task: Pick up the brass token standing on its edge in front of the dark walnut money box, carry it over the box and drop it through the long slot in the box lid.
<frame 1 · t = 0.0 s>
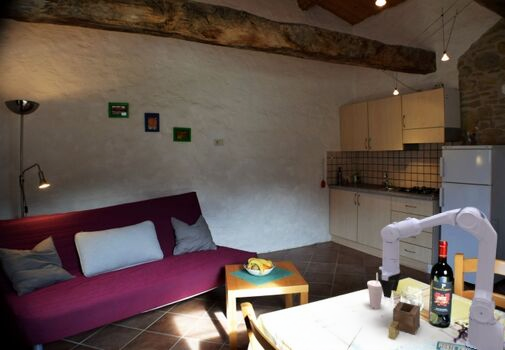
hand: (390, 293, 123), 10 cm above the table, tool pointing down, fingers open, 7 cm apart
smoothie: (375, 307, 135), on the table
money box: (406, 326, 119), on the table
brass token: (393, 335, 114), on the table
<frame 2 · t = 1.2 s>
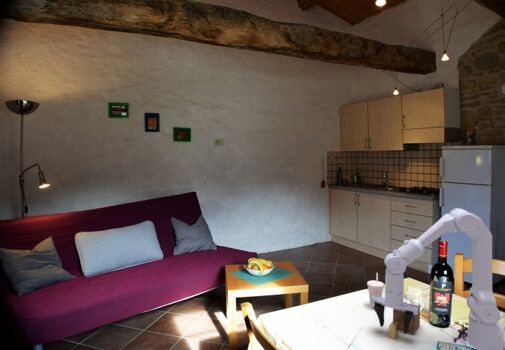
hand: (393, 329, 114), 2 cm above the table, tool pointing down, fingers open, 7 cm apart
nothing on the table moved.
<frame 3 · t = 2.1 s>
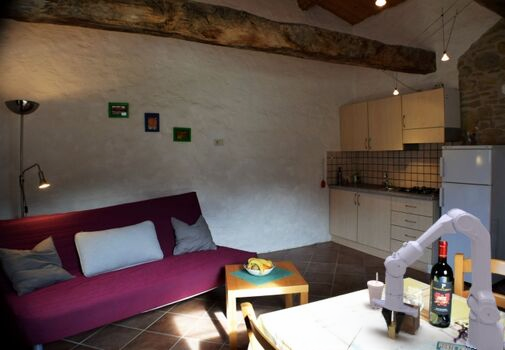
hand: (393, 331, 114), 1 cm above the table, tool pointing down, fingers closed on brass token, 2 cm apart
brass token: (393, 335, 114), on the table, touching gripper
everything else where it was.
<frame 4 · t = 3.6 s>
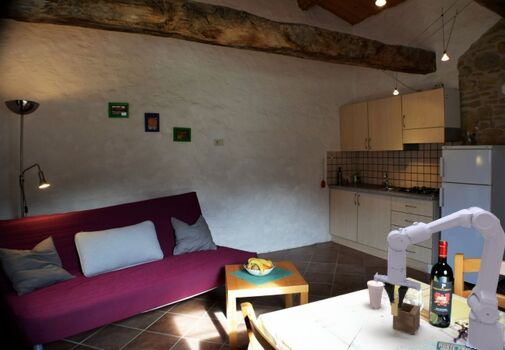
hand: (396, 305, 114), 10 cm above the table, tool pointing down, fingers closed on brass token
brass token: (396, 312, 114), point 8 cm above the table, touching gripper
everything else where it was.
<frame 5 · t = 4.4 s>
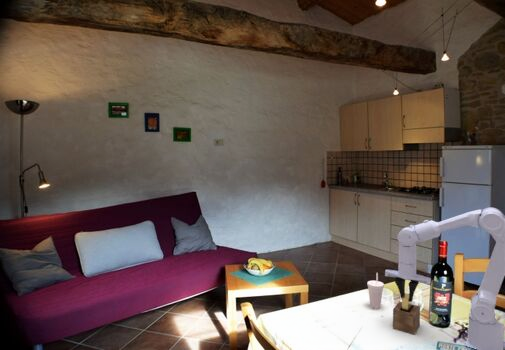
hand: (406, 299, 119), 10 cm above the table, tool pointing down, fingers closed on brass token
brass token: (406, 307, 119), point 7 cm above the table, touching gripper
everything else where it was.
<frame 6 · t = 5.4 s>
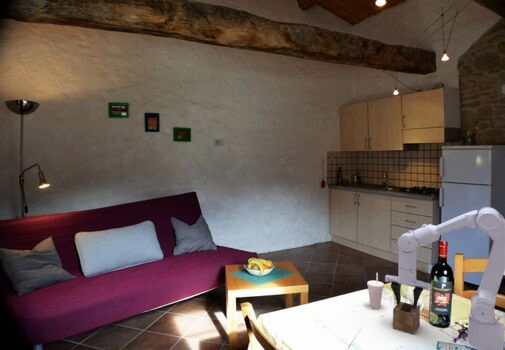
hand: (406, 305, 119), 8 cm above the table, tool pointing down, fingers open, 5 cm apart
brass token: (406, 327, 119), resting in money box
everything else where it was.
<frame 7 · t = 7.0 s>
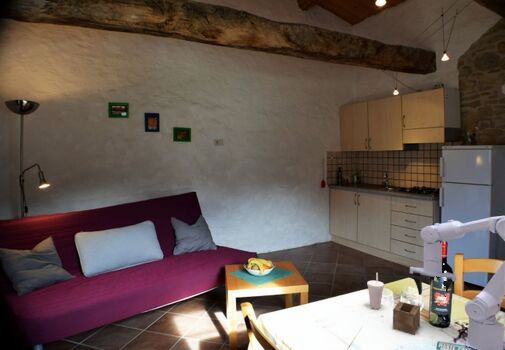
hand: (432, 296, 120), 10 cm above the table, tool pointing down, fingers open, 7 cm apart
nothing on the table moved.
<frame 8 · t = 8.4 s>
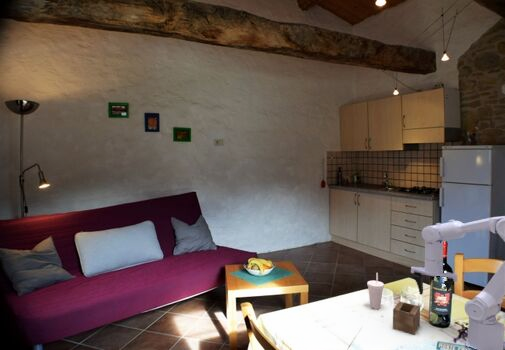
hand: (433, 296, 120), 10 cm above the table, tool pointing down, fingers open, 7 cm apart
nothing on the table moved.
at the end: brass token 0.1 cm off-centre on the money box, point 0.0 cm above the money box's base; the gripper is holding nothing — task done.
